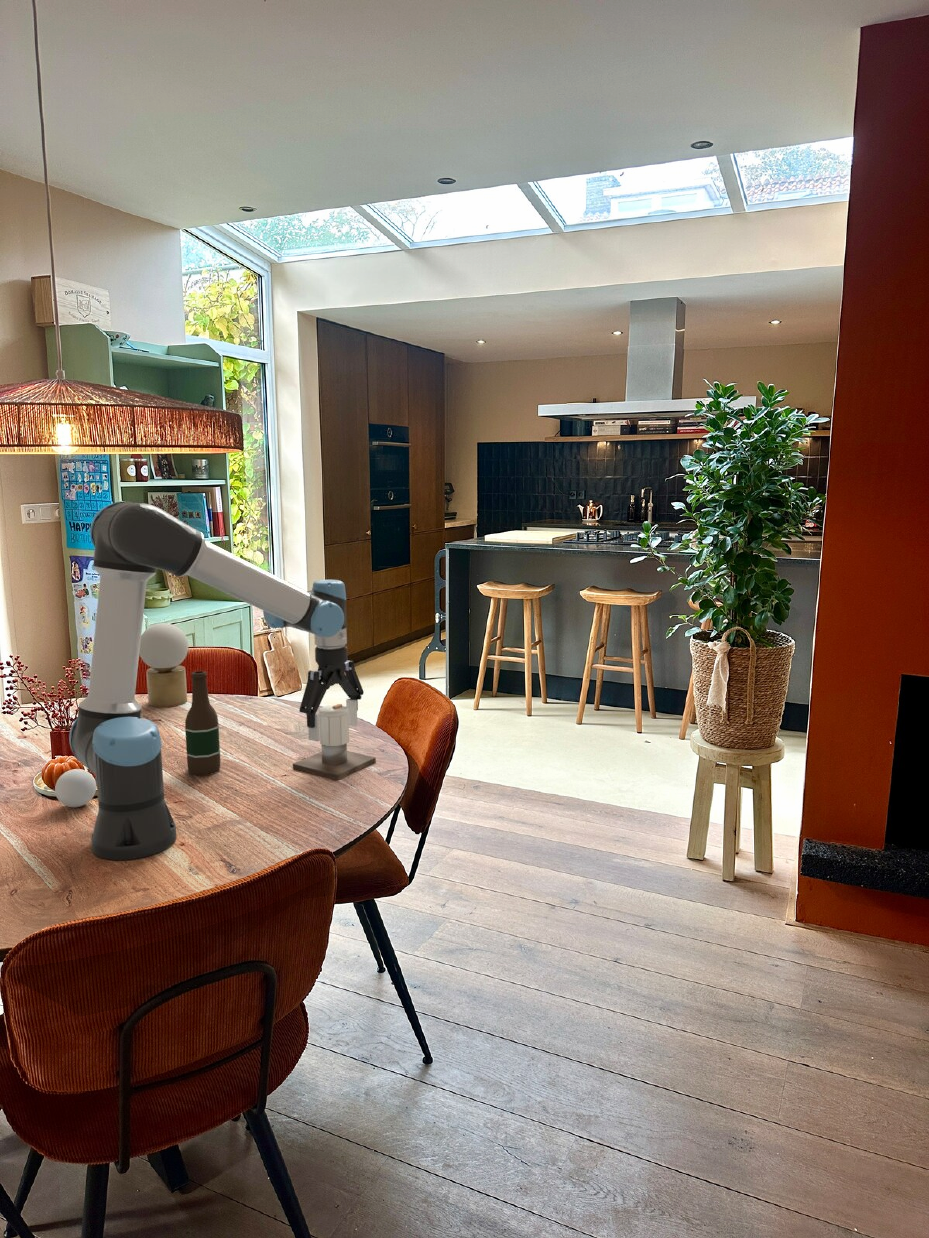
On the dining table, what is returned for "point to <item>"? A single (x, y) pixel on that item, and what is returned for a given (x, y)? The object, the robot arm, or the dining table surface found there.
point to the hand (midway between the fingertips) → (333, 732)
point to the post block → (334, 762)
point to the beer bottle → (202, 730)
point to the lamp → (165, 664)
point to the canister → (334, 725)
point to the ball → (75, 788)
